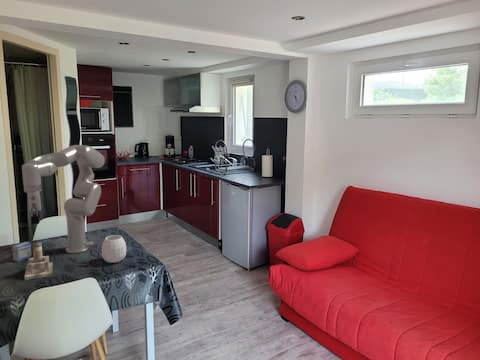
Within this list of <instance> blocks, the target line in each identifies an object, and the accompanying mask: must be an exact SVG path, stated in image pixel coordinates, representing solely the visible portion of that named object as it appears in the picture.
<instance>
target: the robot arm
mask: <svg viewBox="0 0 480 360" xmlns="http://www.w3.org/2000/svg"><path fill="white" fill-rule="evenodd" d="M75 162H76V163H77V166H78V170H79V174H78V176H77V177H78V178H77V179H76V182H75V185H74V188H73V191H72V192H73V195H74V196H75V197H71V198H68V199H67V200H65V202H64V203H63V210H64V213H65V218H66V226H67V227H66V228H67V242H68V246H67V247H66V248H65V252H66V253H68V254H80V253H83V252H87V251H88V250H89V248H90V246H95V242H94V241H87V239H86V224H85V218H84V216H87V217H90V216H92V215H93V214H94V213H95V211H96V209H97V206H98V203H99V200H100V198H101V195H102V188H101V185H100V184H98V183H96V182H94V179H95V174H94V172H93V169H92V168H94V169H95V168H97V169H98V168H102V167H103V166H104V165H105V162H106V159H105V157H104V155H103V154H102V153H100V152H99V151H98V150H97V149H95V148H93V147H92V146H90V145H86V144H85V145H82V144H73V145H70V146H68V147H66V148H64V149H62V150H59V151H55V152H51V153H48V154H43V155H38V156H37V157H34V158H32V159H30V160H28V162H27V163H24V164H22V165H21V172H22V173H21V174H22V182H23V183H22V184H23V191H24V193H27V203H28V210H29V212H30V213H31V215H30V216H31V217H30V219H31V224H32V225H38V224H40V216H41V215H40V212H41V211H42V202H41V192H42V179H41V177H50V176H52V175H54V174H55V172H56V171H57V170H56V169H57V168H62V167H67V166H68V165H70V164H72V163H75Z"/></svg>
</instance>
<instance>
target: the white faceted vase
mask: <svg viewBox="0 0 480 360" xmlns="http://www.w3.org/2000/svg"><path fill="white" fill-rule="evenodd" d="M126 255H127V244H126V241H125V239H124V238H123V236H122V235H119V234H112V235H108V236H106V237H105V238H104V240H103V243H102V245H101V257H102V259H103V260H104V262H106V263H109V264H112V263H114V264H115V263H120V262H121V260H122V261H123V260H124V259H125V258H126Z"/></svg>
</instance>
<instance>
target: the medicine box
mask: <svg viewBox="0 0 480 360" xmlns="http://www.w3.org/2000/svg"><path fill="white" fill-rule="evenodd" d="M11 248H12V249H11V250H12V256H13V257H12V258H13V261H14V262H18V263H20V262H22V261H25V260H27V259H28V260H29V258H33V257H32V255H33V253H32V245H31V242H29V241H23V242H21V243H18V244H15V245H12V246H11Z"/></svg>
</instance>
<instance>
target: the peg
mask: <svg viewBox="0 0 480 360" xmlns="http://www.w3.org/2000/svg"><path fill="white" fill-rule="evenodd" d="M42 245H43V244H42V241H41V242H40V241H39V242H38V241H36V242H33V243H32V245H31V246H32V255H33V257H32V258H34V263H38V262H43V246H42Z"/></svg>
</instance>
